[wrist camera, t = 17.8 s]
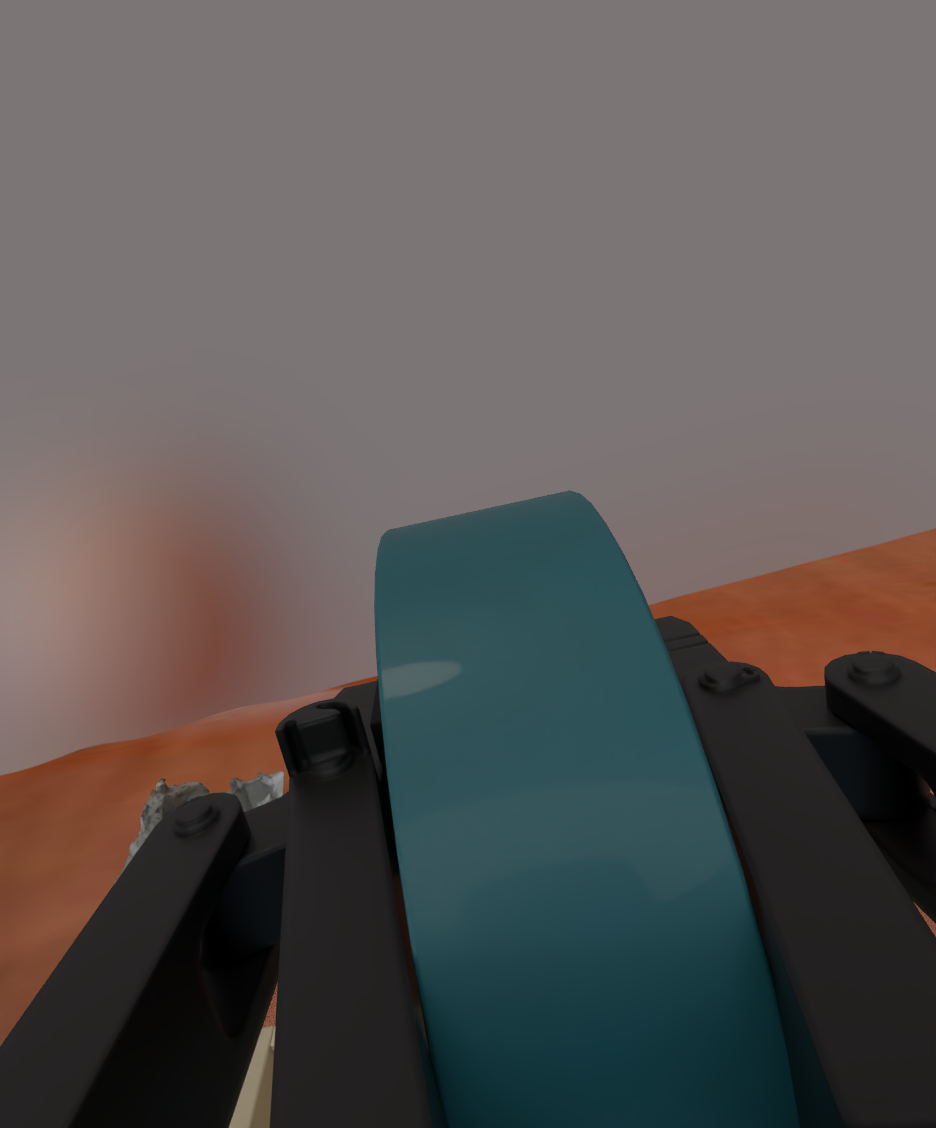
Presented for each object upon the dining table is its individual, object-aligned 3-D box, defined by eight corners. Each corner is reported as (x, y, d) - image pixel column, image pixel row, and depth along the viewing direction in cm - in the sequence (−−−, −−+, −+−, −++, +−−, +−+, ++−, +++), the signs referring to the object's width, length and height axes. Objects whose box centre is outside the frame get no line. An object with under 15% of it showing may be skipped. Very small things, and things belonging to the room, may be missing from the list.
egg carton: (180, 835, 42) (157, 774, 41) (306, 807, 42) (287, 745, 41) (101, 987, 31) (68, 911, 30) (269, 950, 31) (242, 872, 30)
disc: (844, 1553, 9) (800, 731, 5) (588, 1605, 9) (324, 833, 5) (605, 853, 20) (531, 434, 16) (493, 877, 20) (391, 464, 16)
